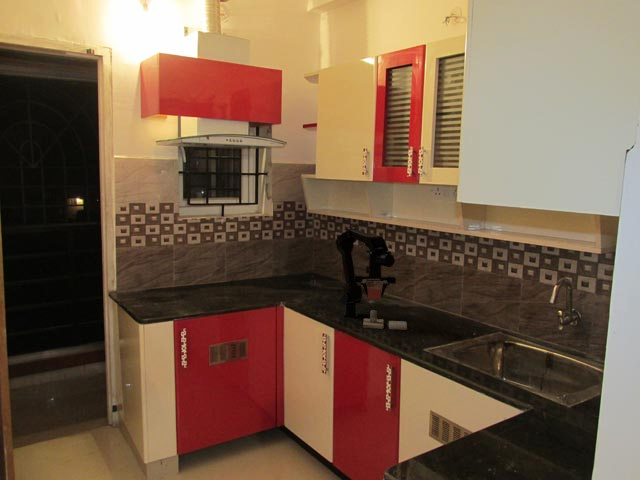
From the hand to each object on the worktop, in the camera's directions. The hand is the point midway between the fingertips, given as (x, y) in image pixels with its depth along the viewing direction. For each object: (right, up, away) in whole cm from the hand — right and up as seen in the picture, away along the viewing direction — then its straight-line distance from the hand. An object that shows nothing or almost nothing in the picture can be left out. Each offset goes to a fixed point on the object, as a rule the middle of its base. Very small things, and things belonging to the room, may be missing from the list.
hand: (374, 297), depth 246 cm
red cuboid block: (0, 0, 0) cm, 0 cm away
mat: (+11, -13, +1) cm, 17 cm away
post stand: (0, -13, +2) cm, 13 cm away
